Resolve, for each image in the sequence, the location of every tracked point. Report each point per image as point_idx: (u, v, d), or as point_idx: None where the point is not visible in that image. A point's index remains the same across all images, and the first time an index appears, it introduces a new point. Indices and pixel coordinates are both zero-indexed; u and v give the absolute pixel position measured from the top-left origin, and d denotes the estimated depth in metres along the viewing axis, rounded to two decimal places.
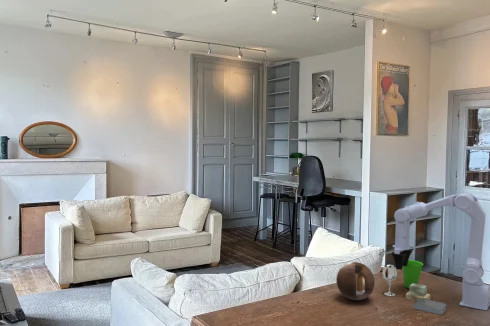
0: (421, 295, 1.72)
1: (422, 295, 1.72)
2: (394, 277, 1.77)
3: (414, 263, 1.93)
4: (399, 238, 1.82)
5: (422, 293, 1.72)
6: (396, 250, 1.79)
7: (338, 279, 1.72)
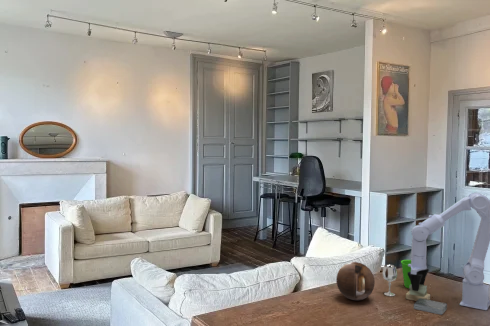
0: (421, 295, 1.72)
1: (422, 295, 1.72)
2: (394, 277, 1.77)
3: None
4: (415, 257, 1.73)
5: (422, 293, 1.72)
6: (413, 270, 1.69)
7: (338, 279, 1.72)
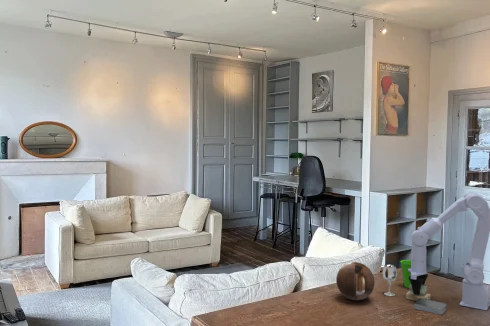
0: (421, 295, 1.72)
1: (422, 295, 1.72)
2: (394, 277, 1.77)
3: None
4: (415, 262, 1.73)
5: (422, 293, 1.72)
6: (413, 275, 1.69)
7: (338, 279, 1.72)
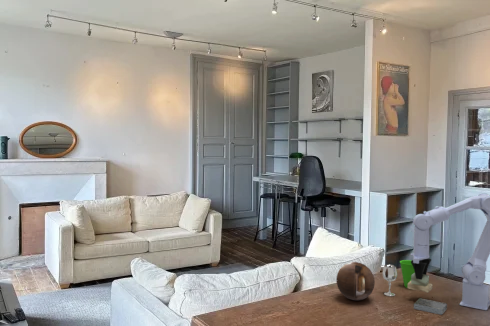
0: (423, 285, 1.70)
1: (424, 285, 1.70)
2: (394, 277, 1.77)
3: None
4: (418, 246, 1.70)
5: (424, 282, 1.70)
6: (415, 259, 1.67)
7: (338, 279, 1.72)
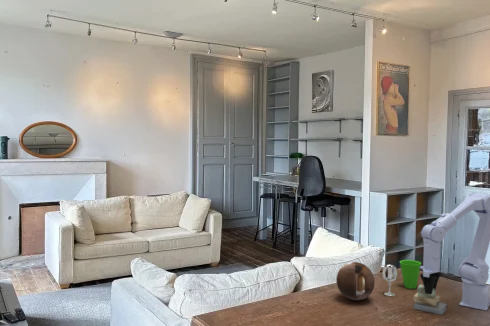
0: (430, 297, 1.63)
1: (431, 297, 1.63)
2: (394, 277, 1.77)
3: (413, 262, 1.93)
4: (428, 259, 1.61)
5: (431, 295, 1.63)
6: (425, 273, 1.57)
7: (338, 279, 1.72)
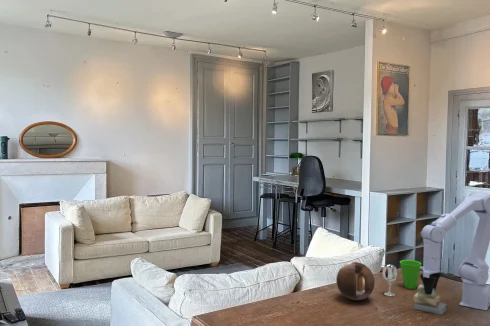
0: (430, 297, 1.63)
1: (431, 297, 1.63)
2: (394, 277, 1.77)
3: (413, 262, 1.93)
4: (428, 259, 1.61)
5: (431, 295, 1.63)
6: (425, 273, 1.57)
7: (338, 279, 1.72)
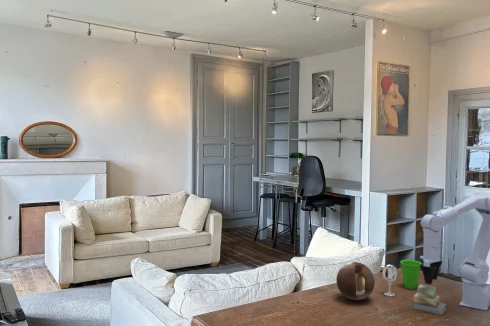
0: (430, 297, 1.63)
1: (431, 297, 1.63)
2: (394, 277, 1.77)
3: (414, 263, 1.93)
4: (428, 248, 1.62)
5: (431, 295, 1.63)
6: (426, 262, 1.58)
7: (338, 279, 1.72)
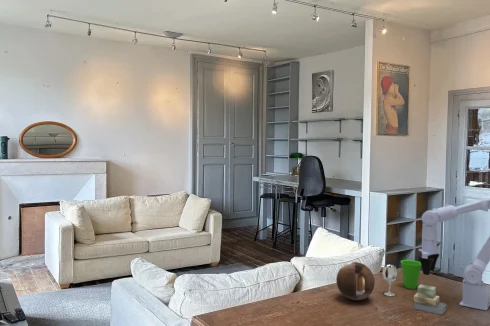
0: (430, 297, 1.63)
1: (431, 297, 1.63)
2: (394, 277, 1.77)
3: (414, 263, 1.93)
4: (426, 242, 1.74)
5: (431, 295, 1.63)
6: (424, 254, 1.70)
7: (338, 279, 1.72)
